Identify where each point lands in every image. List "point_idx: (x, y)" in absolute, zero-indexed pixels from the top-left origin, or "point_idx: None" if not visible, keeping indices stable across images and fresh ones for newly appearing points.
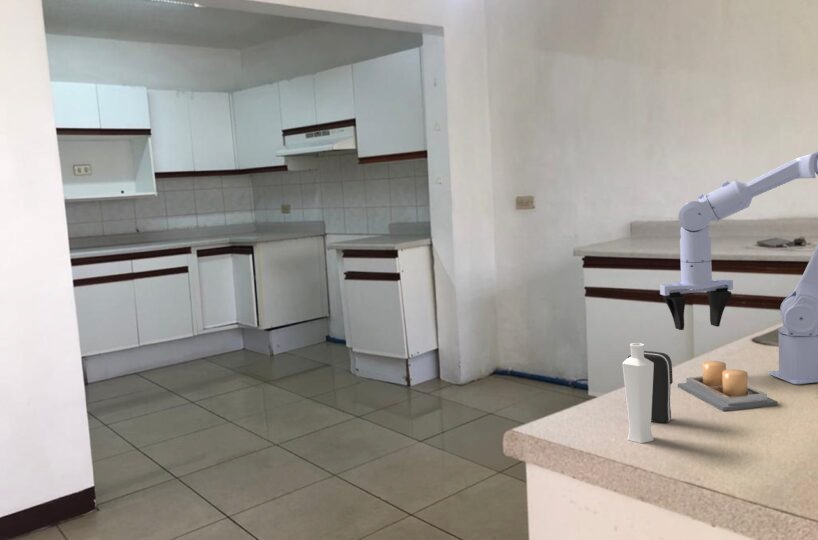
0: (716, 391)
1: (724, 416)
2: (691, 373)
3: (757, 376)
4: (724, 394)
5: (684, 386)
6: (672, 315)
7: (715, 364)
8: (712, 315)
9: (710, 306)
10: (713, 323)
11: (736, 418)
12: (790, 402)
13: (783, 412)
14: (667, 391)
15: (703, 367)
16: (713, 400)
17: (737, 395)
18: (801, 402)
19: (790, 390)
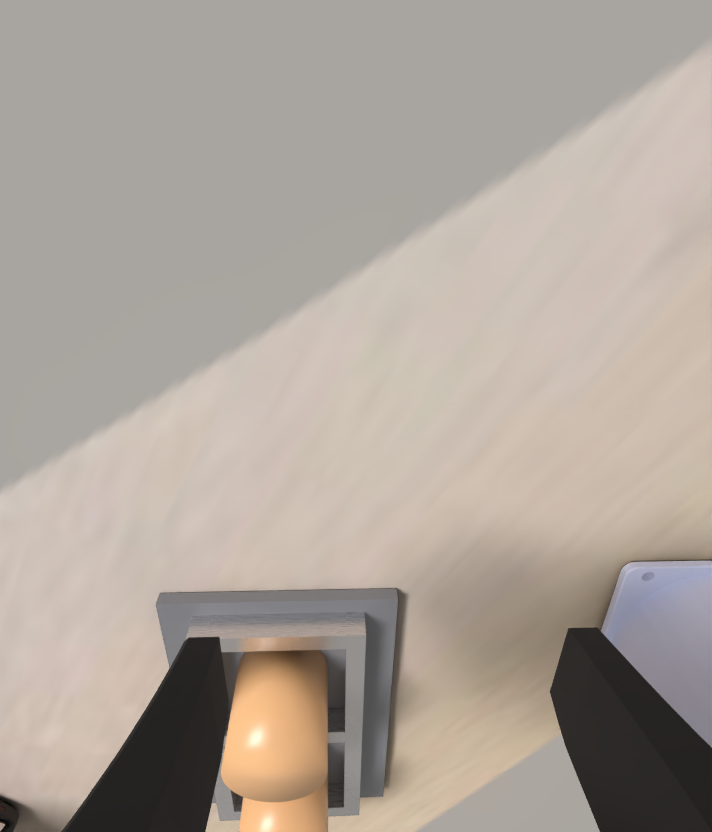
0: (220, 774)
1: None
2: (323, 439)
3: (564, 564)
4: (230, 796)
5: (168, 639)
6: (111, 774)
7: (272, 782)
8: (613, 743)
9: (696, 828)
10: (567, 679)
11: (210, 826)
12: (432, 776)
13: (355, 818)
14: None
15: (223, 755)
16: None
17: None
18: (460, 780)
19: (524, 707)
